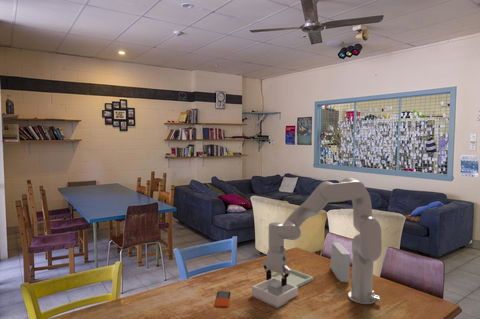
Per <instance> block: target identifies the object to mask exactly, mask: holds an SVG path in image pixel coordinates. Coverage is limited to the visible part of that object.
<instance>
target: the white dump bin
mask: <svg viewBox="0 0 480 319" xmlns="http://www.w3.org/2000/svg"><path fill="white" fill-rule="evenodd" d="M272 282H277V283H279V284H281V280H280V279H277V278H275V277H272V278H271V279H269V280H266V279H265V280H263V281H260V282H259V283H256V284H254V285H252V287H251V296H252V297H253V298H256V299H257V300H260V301H261V302H263V303H266V304H267V305H270V306H272V307H274V308H276V309H279V308H281V307H282V306H284V305H285V304H288V303H289V302H290V301H291V300H292V299H294V298H296V297H298V296H299V288H298V287H297V286H294V285H292V284H289V283H287V285H285V286H282V294H280V295H278V296H276V295H273V294H271V293H269V292H268V284H270V283H272Z"/></svg>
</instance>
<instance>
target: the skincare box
mask: <svg viewBox="0 0 480 319" xmlns="http://www.w3.org/2000/svg"><path fill="white" fill-rule="evenodd" d="M329 267H330V270H331V271H332V272H333V274H334V275H335V277H336V279H337V280H338V281H340V283H349V281H350V267H351V253H350V252H349V251H348V250H347V249H346V248H345V247H344V246H343V244H342V243H341V242H331V253H330V265H329Z"/></svg>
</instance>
